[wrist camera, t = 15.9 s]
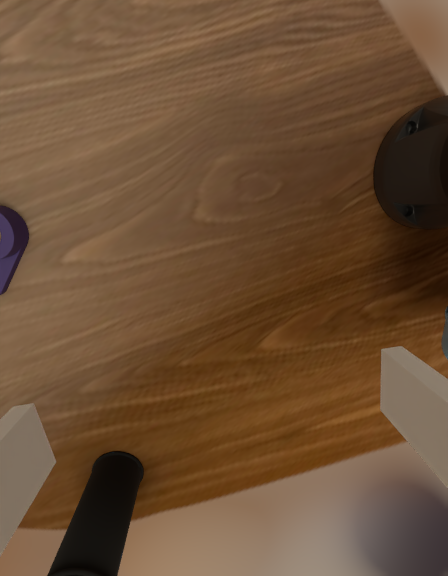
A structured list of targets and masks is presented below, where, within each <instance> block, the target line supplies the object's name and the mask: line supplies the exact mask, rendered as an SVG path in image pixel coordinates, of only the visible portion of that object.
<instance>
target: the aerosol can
mask: <svg viewBox="0 0 448 576" xmlns="http://www.w3.org/2000/svg"><path fill="white" fill-rule="evenodd" d="M142 478H143V467H142V465H141V463H140V462H139V460H138V459H137V458H135V457H134V456H132V455H130V454H128V453H124V452H110V453H107V454H104V455H102V456H101V457H99V458H98V459H97V460H96V462H95V463H94V465H93V467H92V474H91V476H90V478H89V481H88V483H87V485H86V488H85V490H84V492H83V494H82V497H81V499H80V501H79V504H78V506H77V508H76V511H75V513H74V515H73V518H72V520H71V522H70V525H69V527H68V529H67V531H66V534H65V536H64V539H63V541H62V543H61V546H60V548H59V550H58V552H57V555H56V557H55V560H54V562H53V564H52V566H51V569H50V571H49V573H48V575H47V576H117V574H118V570H119V566H120V562H121V558H122V553H123V549H124V545H125V541H126V537H127V533H128V529H129V525H130V521H131V517H132V512H133V508H134V504H135V500H136V496H137V492H138V488H139V484H140V482H141V480H142Z"/></svg>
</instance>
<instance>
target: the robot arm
mask: <svg viewBox="0 0 448 576" xmlns="http://www.w3.org/2000/svg"><path fill="white" fill-rule="evenodd" d="M374 186H375V191H376V195H377V198H378V200H379V203H380V205H381V206H382V208H383V209H384V211H385V212H386V213H387V214H388V215H389V216H390V217H391V218H392V219H393V220H395V221H396V222H398V223H400V224H402V225H404V226H408V227H412V228H420V229H440V228H445V227H448V96H443V97H440V98H436V99H434V100H431V101H429V102H427V103H425V104H423V105H421V106H418V107H416V108H415V109H413V110H411V111H410V112H408V113H407V114H405V115H404V116H403V117H402V118H401V119H400V120H398V121H397V122H396V124H395V125H394V126H393V127H392V128H391V129H390V131H389V132H388V134H387V135H386V137H385V138H384V140H383V142H382V144H381V146H380V149H379V151H378V154H377V158H376V162H375V167H374ZM445 319H446V321H445V326H444V331H443V336H442V350H443V352H444V355H445V356H446V358H447V359H448V306H447V308H446V310H445ZM380 410H381V411H382V412H383V414H384V415H385V416H386V417H387V418H388V419H389V421H390V422H391V423H392V424H393V425H394V426H395V428H396V429H397V430H398V431H399V432H400V433H401V435H402V436H403V437H404V438H405V439H406V440H407V442H408V443H409V444H410V445H411V446H412V447H413V449H414V450H415V451H416V452H417V453H418V454H419V456H420V457H421V458H422V459H423V460H424V461H425V463H426V464H427V465H428V466H429V467H430V468H431V469H432V471H433V472H434V473H435V474H436V475H437V477H438V478H439V479H440V480H441V481H442V482H443V483H444V485H445V486H446V487H447V488H448V379H447V378H445V377H444V376H442V375H441V374H440V373H438V372H437V371H435V370H434V369H433V368H431V367H430V366H428V365H427V364H426V363H424V362H423V361H421V360H420V359H419V358H417V357H416V356H414V355H413V354H412V353H410V352H409V351H407V350H406V349H405V348H403V347H402V346H399V347H392V348H386V349H381V409H380ZM55 463H56V460H55V457H54V455H53V452H52V450H51V447H50V444H49V442H48V439H47V437H46V434H45V431H44V429H43V426H42V424H41V421H40V418H39V416H38V413H37V411H36V408H35V405H34V403H33V404H27V405H20V406H14V407H12V408H11V409H10V410H9V411H8V412H7V413H6V414H5V415H4V416H3V417H2V418H1V419H0V556H1V554H2V553H3V551H4V549H5V547H6V546H7V544H8V542H9V540H10V539H11V537H12V536H13V534H14V532H15V531H16V529H17V527H18V526H19V524H20V522H21V520H22V519H23V517H24V515H25V514H26V512H27V510H28V509H29V507H30V505H31V504H32V502H33V500H34V498H35V497H36V495H37V493H38V492H39V490H40V488H41V487H42V485H43V483H44V482H45V480H46V478H47V476H48V475H49V473H50V471H51V470H52V468H53V466H54V465H55Z"/></svg>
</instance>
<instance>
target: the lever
mask: <svg viewBox="0 0 448 576" xmlns="http://www.w3.org/2000/svg"><path fill="white" fill-rule="evenodd" d="M0 232H1V241H0V295H1V294H3V293H5V292H6V290H7V288H8V286H9V284H10V282H11V279H12V277H13V275H14V273H15V270H16V268H17V266H18V264H19V261H20V259H21V257H22V255H23V253H24V250H25V248H26V246H27V243H28V240H29V232H28V228H27V225H26V223H25V221H24V220H23V219H22V217H21V216H20V215H19V214H18V213H17V212H15V211H14V210H12V209H10V208H8V207H5V206H0Z"/></svg>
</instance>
